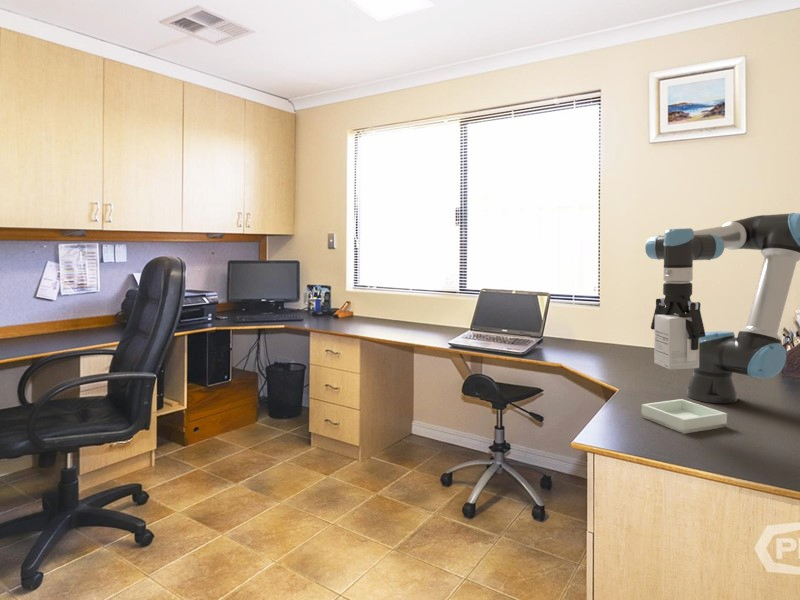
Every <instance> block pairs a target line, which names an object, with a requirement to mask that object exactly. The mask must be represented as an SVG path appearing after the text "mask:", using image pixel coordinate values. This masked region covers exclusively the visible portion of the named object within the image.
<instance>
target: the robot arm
mask: <svg viewBox="0 0 800 600" xmlns="http://www.w3.org/2000/svg"><path fill="white" fill-rule="evenodd" d="M644 247H645V248H644V249H645V253H646V255H647V257H648V258H649V259H652V260H658V261H659V260H663V281H664V283H663V285H662V286H663V288H662V294H663V296H664V297H662V298H656V299H655V309H654V313H653V317H652V320H651V321H652V322H651V325H650V330H653V331H655V315H662V314H663V315H670V314H678V315H679V316H680V317H683V318H688V317H691V319H692V322H691V321H689V320H687V319H686V330H687V332H688V334H689V336H690V337H689V338H688V339H687V361H696V352H697V350H698V342H699V368H693V372H692V373H693V374H692V377H691V378H690V381H689V384H688V386H687V389H686V396H687V397H688V398H690V399H693V400H696V401H700V402H704V403H712V404H733V403H736V402H737V401H738V392H737V390H736V386H735V383H734V379H733V373H735V374H739V375H743V376H748V377H752V378H755V379H763V380H764V379H765V380H769V379H772V378H774V377H776V376H777V375H778V374H780V373H781V372H782V371H783V368H784V366H785V365H786V361H787V354H786V353H787V350H786V348H785V346H784V345H782V338H781V337H780V336H779V334H778V333H779V329H780V324H781V321H782V318H783V313H784V310H785V306H786V303H787V299H788V296H789V290H790V287H791V284H792V280H793V276H794V273H795V269H796V265H797V263H798V262H799V261H800V213H798V212H797V213H796V212H790V213H779V214H761V215H753V216H751V217H749V216H748V217H746V218H741V219H738V220H734V221H728V222H726V223H724V224H723V225H721V226H716V227H710V228H703V229H697V230H693V228H669V229H667V230H665V231H664V235H660V234H659V235H655V236H650V237H649V238H648V239H647V241H646V242H645V245H644ZM725 249H728V250H730V251H731V250H734V251H735V250H753V251H754V250H755V251H756V250H758V251H760V253H761V255H762V256H763V257H764V259H763V262H762V267H761V270H760V273H759V277H758V281H757V285H756V288H755V293H754V296H753V300H752V301H751V302H752V303H751V307H750V310H749V315H748V317H747V321H746V325H745V327H744V328H742V329H740V330H738V334H737V337H736V334H735V333H734V331H729V330H728V331H727V330H726V331H725V330H724V331H721V330H720V331H719V330H718V331H705V326H704V321H703V318H702V313H701V302H700V301H695V302H693V301H692V300H691V296H692V295H693V283H692V281H693V277H694V276H693V270H694V269H693V267H694V265H693V263H694V261H711V260H715V259H718V258H719V257H721V256H722V255H723V253H724V252H725ZM693 333H694V334H693Z"/></svg>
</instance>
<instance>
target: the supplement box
mask: <svg viewBox="0 0 800 600" xmlns="http://www.w3.org/2000/svg"><path fill="white" fill-rule="evenodd" d="M686 319H687V320H689V321H691V322H692V319H691V317H688V318H683V317H680V316H679V315H678V314H670V315H663V314H662V315H655V330H654V351H653V352H654V354H653V357H654V358H653V359H654V360H653V362H654V364H656V365H658V366H661V367H663V368H665V369H668V370H685V369H688V370H689V369H694V368H699V342H698V350H697V352H696V361H687V339H688V338H689V337H690V336H689V334H688V332H687V330H686ZM693 334H694V333H693Z"/></svg>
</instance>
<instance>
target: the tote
mask: <svg viewBox="0 0 800 600" xmlns="http://www.w3.org/2000/svg"><path fill="white" fill-rule="evenodd" d="M640 411H641V414H640V417H641V418H643V419H645V420H648V421H651V422H654V423H655V424H659V425H660V426H664V427H666V428H668V429H671V430H674V431H676V432H679V433H681V434H690V433H697V432H703V431H710V430H714V429H720V428H721V429H723V428H727V421H728V413H726V412H724V411H721V410H717V409H714V408H712V407H707V406H705V405H702V404H698V403H695V402H693V401H689V400H686V399H683V398H677V399H672V400H665V401H658V402H657V401H656V402H651V403H650V402H649V403H643V404H641V409H640Z"/></svg>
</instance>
